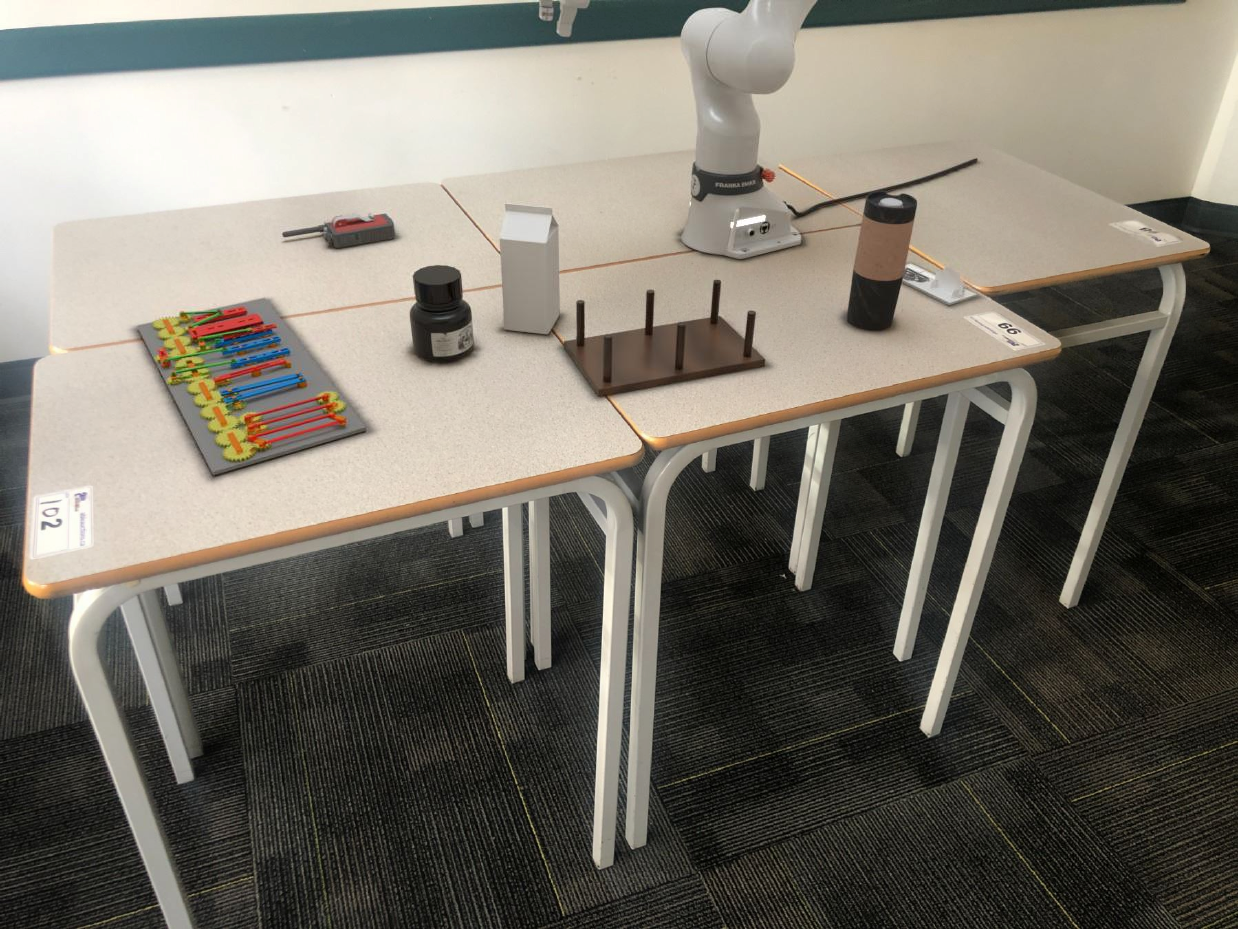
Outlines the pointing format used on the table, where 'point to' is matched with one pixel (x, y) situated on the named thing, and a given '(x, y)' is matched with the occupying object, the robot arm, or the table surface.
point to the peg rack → (662, 350)
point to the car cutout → (938, 284)
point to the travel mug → (880, 259)
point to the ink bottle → (440, 315)
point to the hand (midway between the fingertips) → (554, 27)
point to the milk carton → (530, 268)
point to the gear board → (246, 384)
